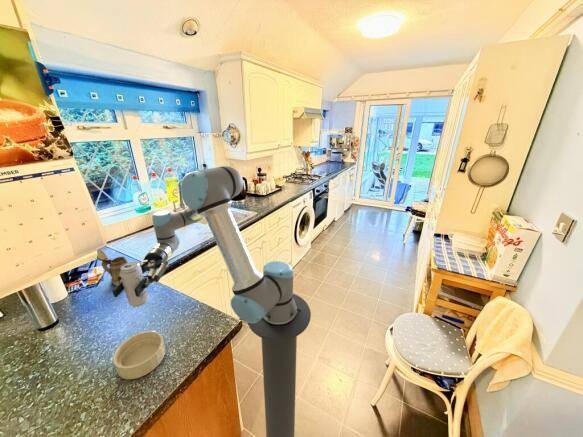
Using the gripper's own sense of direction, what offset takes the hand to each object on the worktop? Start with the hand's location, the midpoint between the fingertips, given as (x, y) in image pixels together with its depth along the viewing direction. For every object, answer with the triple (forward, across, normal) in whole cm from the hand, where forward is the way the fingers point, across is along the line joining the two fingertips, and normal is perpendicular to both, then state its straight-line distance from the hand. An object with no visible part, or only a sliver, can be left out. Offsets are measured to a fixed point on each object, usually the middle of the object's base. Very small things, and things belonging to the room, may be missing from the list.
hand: (125, 293), depth 75 cm
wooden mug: (-36, +28, -20) cm, 49 cm away
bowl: (+9, -5, -20) cm, 22 cm away
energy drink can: (-5, 0, -8) cm, 10 cm away
